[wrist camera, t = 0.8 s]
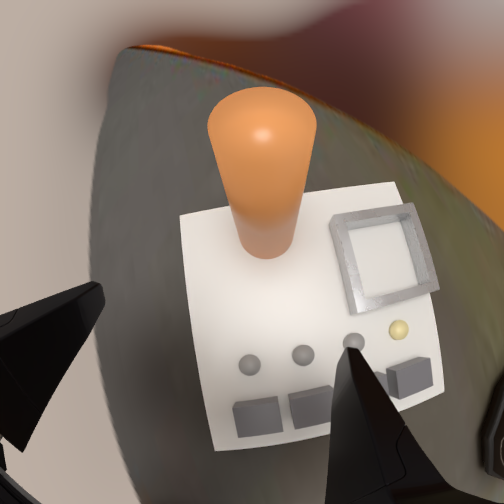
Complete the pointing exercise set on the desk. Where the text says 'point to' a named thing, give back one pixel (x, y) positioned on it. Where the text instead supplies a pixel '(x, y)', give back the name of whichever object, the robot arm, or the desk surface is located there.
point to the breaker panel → (301, 320)
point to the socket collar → (349, 265)
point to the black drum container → (494, 434)
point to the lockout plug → (263, 163)
